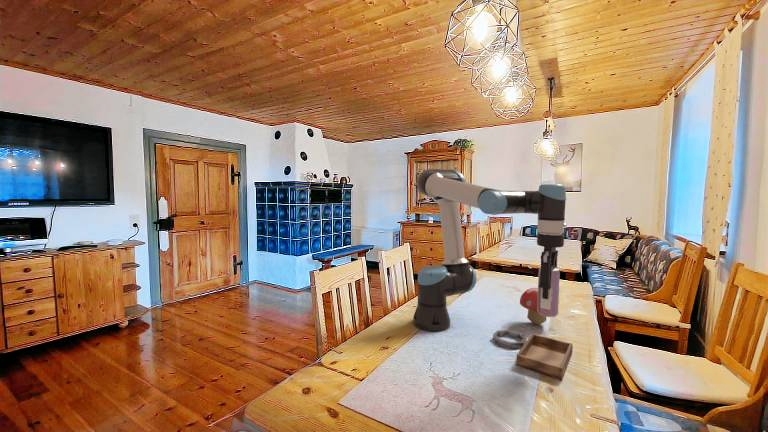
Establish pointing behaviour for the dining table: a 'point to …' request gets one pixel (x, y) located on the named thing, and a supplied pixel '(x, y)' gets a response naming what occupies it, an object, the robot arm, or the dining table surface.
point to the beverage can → (554, 294)
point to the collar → (507, 343)
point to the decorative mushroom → (532, 305)
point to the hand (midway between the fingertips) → (547, 305)
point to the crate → (545, 356)
